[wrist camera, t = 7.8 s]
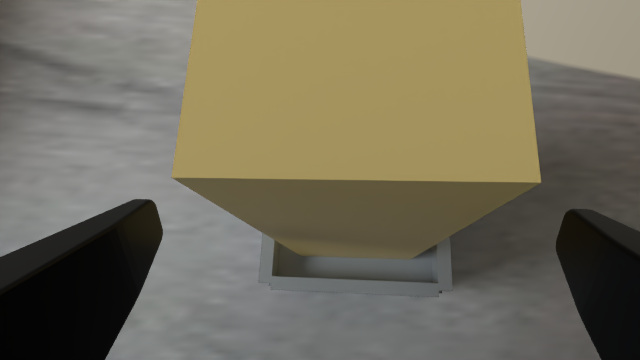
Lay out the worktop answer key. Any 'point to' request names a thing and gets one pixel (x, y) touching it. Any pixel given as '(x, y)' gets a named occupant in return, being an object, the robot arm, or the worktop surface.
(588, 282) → the robot arm
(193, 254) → the worktop surface
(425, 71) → the mustard brick
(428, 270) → the base tray
